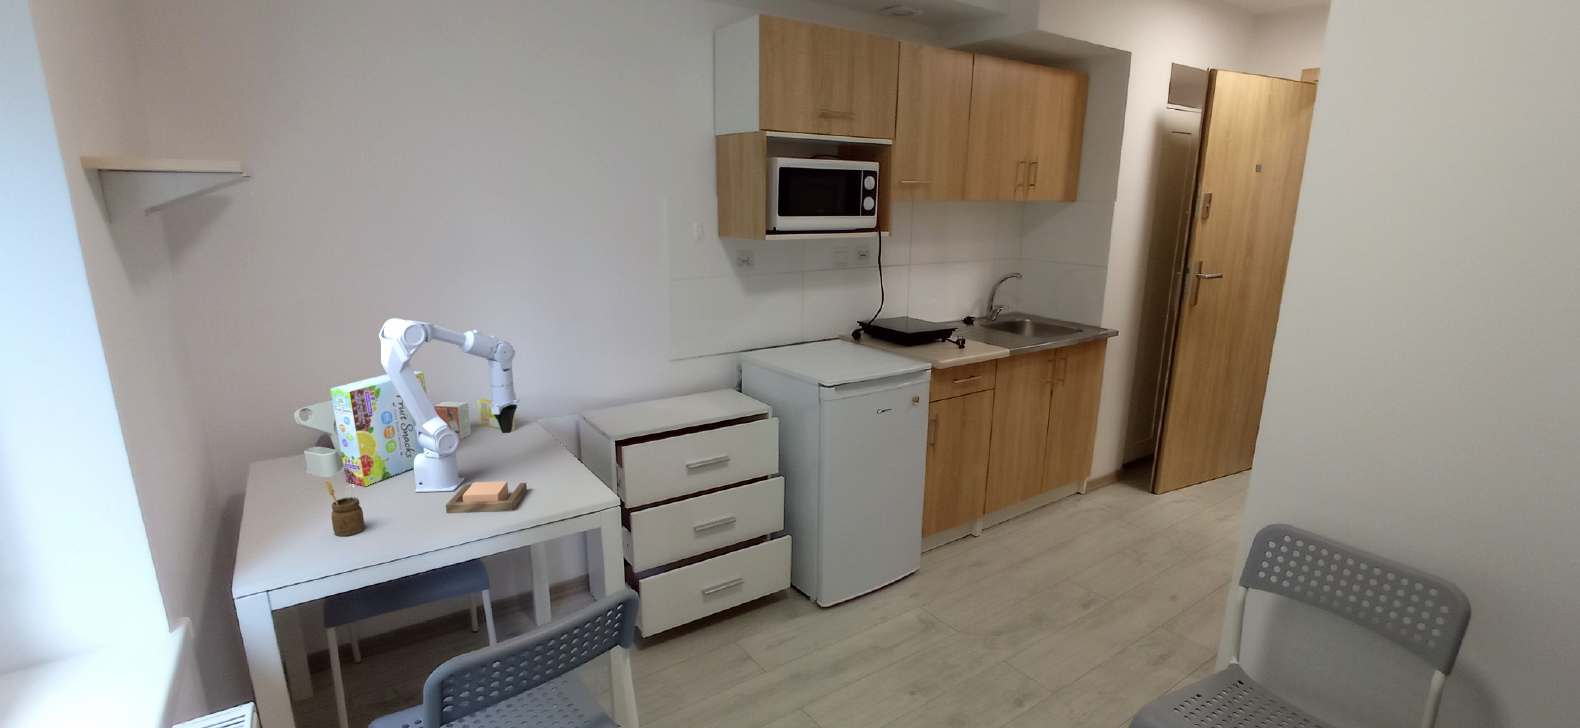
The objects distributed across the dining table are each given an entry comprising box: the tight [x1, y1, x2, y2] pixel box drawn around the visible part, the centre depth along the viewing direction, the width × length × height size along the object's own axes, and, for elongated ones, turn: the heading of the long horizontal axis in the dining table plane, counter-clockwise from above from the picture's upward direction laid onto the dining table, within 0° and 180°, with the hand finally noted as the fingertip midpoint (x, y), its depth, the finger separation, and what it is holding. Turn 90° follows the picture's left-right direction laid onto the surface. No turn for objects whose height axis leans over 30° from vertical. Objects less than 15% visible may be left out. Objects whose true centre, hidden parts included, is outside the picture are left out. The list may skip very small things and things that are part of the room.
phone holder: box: [293, 399, 344, 478], centre depth 200 cm, size 17×10×18 cm, turn 157°
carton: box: [463, 480, 510, 502], centre depth 177 cm, size 8×8×4 cm
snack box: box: [329, 370, 428, 487], centre depth 195 cm, size 22×9×26 cm, turn 155°
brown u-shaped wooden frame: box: [445, 482, 528, 514], centre depth 178 cm, size 15×12×2 cm
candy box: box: [476, 398, 515, 432], centre depth 235 cm, size 16×2×8 cm, turn 58°
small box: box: [433, 400, 472, 440], centre depth 225 cm, size 8×6×10 cm
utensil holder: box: [324, 478, 365, 537], centre depth 161 cm, size 6×6×12 cm
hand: (506, 432), depth 200 cm, fingers closed
